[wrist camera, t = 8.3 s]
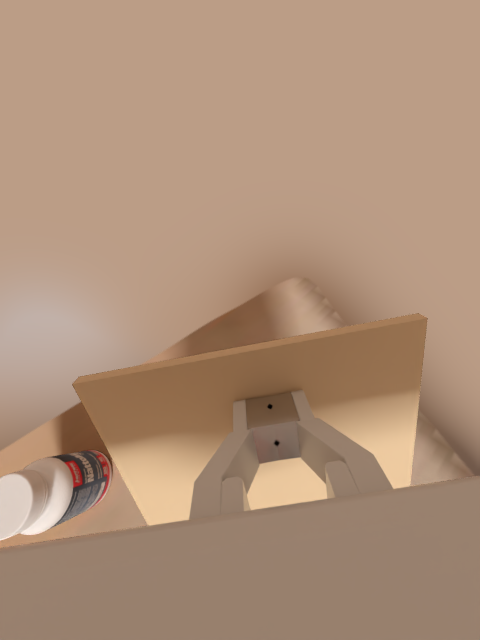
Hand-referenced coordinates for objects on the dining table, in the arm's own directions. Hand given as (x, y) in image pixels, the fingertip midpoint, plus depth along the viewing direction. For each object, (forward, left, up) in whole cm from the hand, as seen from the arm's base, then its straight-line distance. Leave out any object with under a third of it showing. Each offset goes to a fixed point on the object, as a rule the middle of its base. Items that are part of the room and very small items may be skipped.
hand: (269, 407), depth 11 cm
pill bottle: (-22, -3, -21) cm, 30 cm away
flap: (-1, -8, -8) cm, 12 cm away
